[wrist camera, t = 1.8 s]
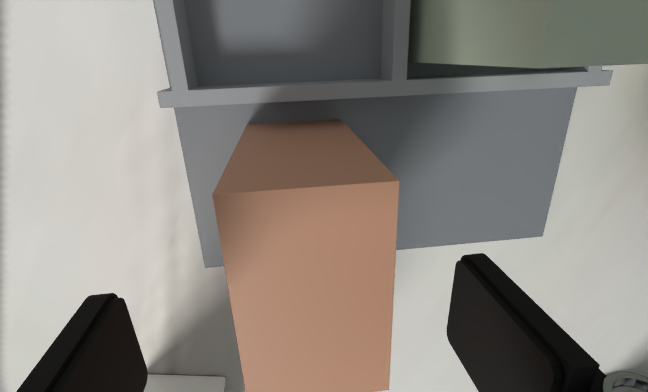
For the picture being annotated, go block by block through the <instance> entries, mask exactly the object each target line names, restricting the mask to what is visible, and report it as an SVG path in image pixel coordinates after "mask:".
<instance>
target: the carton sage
mask: <svg viewBox="0 0 648 392" xmlns="http://www.w3.org/2000/svg"><path fill="white" fill-rule="evenodd" d="M408 62H417V63H438V64H458V65H479V66H499V67H520V68H560V67H582V66H604V65H627V64H648V0H411V4H410V23H409V43H408Z"/></svg>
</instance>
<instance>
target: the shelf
mask: <svg viewBox="0 0 648 392" xmlns="http://www.w3.org/2000/svg"><path fill="white" fill-rule="evenodd" d="M153 2H154V8H155V13H156V18H157V23H158V28H159V33H160V38H161V44H162V49H163V54H164V59H165V64H166V69H167V74H168V79H169V85H170V88H168V89H165V90H162V91H158V92H157V95H158V100H159V104H160V108H171V107H174V110H175V115H176V120H177V126H178V131H179V136H180V141H181V146H182V151H183V156H184V161H185V167H186V172H187V177H188V182H189V187H190V192H191V197H192V202H193V208H194V213H195V218H196V223H197V228H198V233H199V238H200V243H201V249H202V254H203V259H204V264H205V268H208V267H219V266H224V261H223V255H222V249H221V244H220V238H219V232H218V226H217V220H216V214H215V208H214V202H213V197H212V194H213V192H214V190H215V188H216V186H217V184H218V182H219V180H220V178H221V176H222V174H223V172H224V170H225V168H226V166H227V164H228V162H229V160H230V158H231V156H232V154H233V151H234V149H235V147H236V145H237V143H238V141H239V139H240V137H241V135H242V133H243V131H244V129H245V127H246V125H247V124H265V123H283V122H301V121H318V120H336V119H341V120H342V121H343V122H344V123H345V124H346V125H347V126H348V127H349V128H350V129H351V131H352V132H353V133H354V134H355V135H356V136H357V137H358V138H359V139H360V140H361V141H362V142H363V143H364V144H365V145H366V146H367V147H368V148H369V149H370V151H371V152H372V153H373V154H374V155H375V156H376V157H377V158H378V159H379V160H380V161H381V162H382V163H383V164H384V165H385V166H386V167H387V168H388V169H389V171H390V172H391V173H392V174H393V175H394V176H395V177H396V178H397V179H398V180H399V197H398V217H397V237H396V250H401V249H412V248H423V247H434V246H444V245H455V244H466V243H476V242H487V241H498V240H509V239H519V238H530V237H541V236H543V232H544V228H545V224H546V219H547V215H548V211H549V206H550V202H551V198H552V193H553V189H554V185H555V180H556V176H557V172H558V167H559V163H560V159H561V154H562V150H563V146H564V141H565V137H566V133H567V128H568V124H569V120H570V115H571V111H572V107H573V102H574V98H575V94H576V89H577V87H586V86H605V85H609V84H610V80H611V76H612V73H613V71H609V70H602V66H582V67H560V68H520V67H499V66H479V65H458V64H438V63H417V62H408V43H409V23H410V4H411V0H153Z"/></svg>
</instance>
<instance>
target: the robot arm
mask: <svg viewBox="0 0 648 392" xmlns="http://www.w3.org/2000/svg"><path fill="white" fill-rule="evenodd" d="M447 337H448V340H449V342H450V344H451V346H452V348H453V349H454V351H455V353H456V354H457V356H458V358H459V359H460V361H461V363H462V364H463V366H464V368H465V369H466V371H467V373H468V374H469V376H470V378H471V379H472V381H473V383H474V384H475V386H476V388H477V389H478V391H479V392H648V378H646V377H644V376H641V375H637V374H633V373H629V372H615V373H611V374H609V375H608V376H606V375H605V374H604V373H603V372H602V371H601V370H600V369H599V364H598V363H597V362H596V361H595V360H594V359H593V358H592V357H591V356H590V355H589V354H588V353H587V352H586V351H585V350H584V349H582V348H581V347H580V346H579V345H578V344H577V343H576V342H575V341H574V340H573V339H572V338H571V337H570V336H569V335H568V334H567V333H566V332H565V331H564V330H563V329H562V328H561V327H560V326H559V325H558V324H557V323H556V322H555V321H554V320H553V319H552V318H550V317H549V316H548V315H547V314H546V313H545V312H544V311H543V310H542V309H541V308H540V307H539V306H538V305H537V304H536V303H535V302H534V301H533V300H532V299H531V298H530V297H529V296H528V295H527V294H526V293H525V292H524V291H523V290H522V289H521V288H520V287H518V286H517V285H516V284H515V283H514V282H513V281H512V280H511V279H510V278H509V277H508V276H507V275H506V274H505V273H504V272H503V271H502V270H501V269H500V268H499V267H498V266H497V265H496V264H495V263H494V262H493V261H492V260H491V259H490V258H489V257H488V256H486V255H485V254H482V253H480V254H471V255H464V256H462V258H461V261H457V263H456V267H455V274H454V281H453V288H452V295H451V303H450V310H449V317H448V324H447ZM147 378H148V371H147V367H146V364H145V361H144V358H143V355H142V352H141V349H140V346H139V343H138V340H137V337H136V334H135V331H134V327H133V324H132V321H131V318H130V315H129V312H128V309H127V306H126V303H125V301H124V299H123V298H118V297H117V295H116V294H114V293H109V294H100V295H91V296H88V297H87V298H86V299H85V301H84V302H83V303H82V305H81V306H80V307H79V309H78V310H77V311H76V313H75V314H74V315H73V317H72V318H71V319H70V321H69V322H68V323H67V325H66V326H65V327H64V329H63V330H62V331H61V333H60V334H59V335H58V337H57V338H56V339H55V341H54V342H53V343H52V345H51V346H50V347H49V349H48V350H47V351H46V353H45V354H44V355H43V357H42V358H41V360H40V361H39V362H38V364H37V365H36V366H35V368H34V369H33V370H32V372H31V373H30V374H29V376H28V377H27V378H26V380H25V381H24V382H23V384H22V385H21V386H20V388H19V389H18V390H17V392H144V389H145V386H146V383H147Z"/></svg>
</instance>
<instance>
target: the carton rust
mask: <svg viewBox="0 0 648 392" xmlns="http://www.w3.org/2000/svg"><path fill="white" fill-rule="evenodd" d="M212 197H213V202H214V208H215V214H216V220H217V226H218V232H219V238H220V244H221V249H222V255H223V261H224V267H225V273H226V279H227V285H228V291H229V297H230V302H231V308H232V314H233V320H234V326H235V332H236V338H237V344H238V349H239V355H240V361H241V367H242V373H243V379H244V385H245V391H246V392H375V391H383V390H389V378H390V358H391V338H392V317H393V297H394V277H395V257H396V237H397V217H398V197H399V180H398V179H397V178H396V177H395V176H394V175H393V174H392V173H391V172H390V171H389V169H388V168H387V167H386V166H385V165H384V164H383V163H382V162H381V161H380V160H379V159H378V158H377V157H376V156H375V155H374V154H373V153H372V152H371V151H370V149H369V148H368V147H367V146H366V145H365V144H364V143H363V142H362V141H361V140H360V139H359V138H358V137H357V136H356V135H355V134H354V133H353V132H352V131H351V129H350V128H349V127H348V126H347V125H346V124H345V123H344V122H343V121H342V120H341V119H336V120H318V121H301V122H283V123H265V124H247V125H246V127H245V129H244V131H243V133H242V135H241V137H240V139H239V141H238V143H237V145H236V147H235V149H234V151H233V154H232V156H231V158H230V160H229V162H228V164H227V166H226V168H225V170H224V172H223V174H222V176H221V178H220V180H219V182H218V184H217V186H216V188H215V190H214V192H213V194H212Z"/></svg>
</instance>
